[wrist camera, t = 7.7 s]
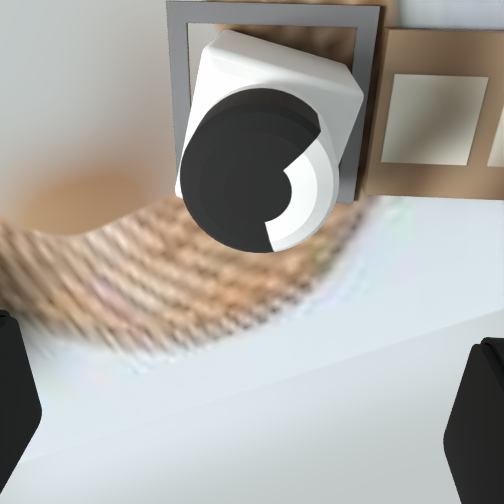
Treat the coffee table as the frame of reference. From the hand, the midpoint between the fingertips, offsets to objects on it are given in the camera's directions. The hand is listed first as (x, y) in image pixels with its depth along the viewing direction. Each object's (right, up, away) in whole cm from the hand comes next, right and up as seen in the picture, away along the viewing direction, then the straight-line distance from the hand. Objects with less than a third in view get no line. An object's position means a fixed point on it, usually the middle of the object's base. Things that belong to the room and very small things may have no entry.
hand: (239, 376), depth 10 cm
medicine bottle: (+1, +11, +18) cm, 21 cm away
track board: (+16, +10, +17) cm, 26 cm away
